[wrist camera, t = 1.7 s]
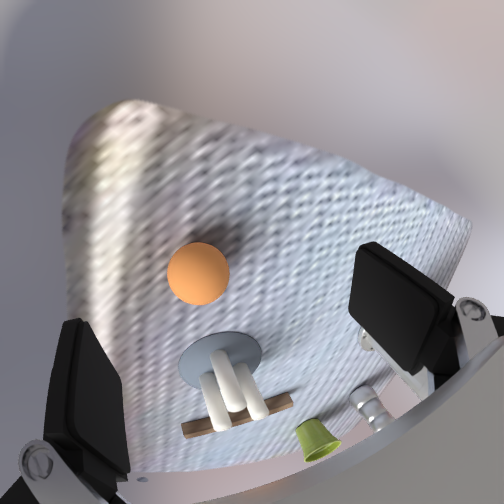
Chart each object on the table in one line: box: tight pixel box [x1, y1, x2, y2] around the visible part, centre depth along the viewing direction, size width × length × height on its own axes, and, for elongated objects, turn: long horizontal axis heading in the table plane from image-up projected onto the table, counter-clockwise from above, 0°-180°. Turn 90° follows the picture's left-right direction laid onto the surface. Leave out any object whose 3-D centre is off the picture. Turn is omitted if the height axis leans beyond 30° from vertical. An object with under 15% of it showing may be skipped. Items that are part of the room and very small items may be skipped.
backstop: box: [181, 392, 293, 439], centre depth 43 cm, size 20×2×2 cm, turn 95°
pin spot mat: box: [178, 332, 261, 389], centre depth 38 cm, size 12×12×1 cm
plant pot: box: [296, 419, 341, 462], centre depth 53 cm, size 9×9×9 cm
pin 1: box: [199, 372, 232, 431], centre depth 34 cm, size 2×2×9 cm
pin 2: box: [233, 363, 269, 420], centre depth 35 cm, size 2×2×9 cm
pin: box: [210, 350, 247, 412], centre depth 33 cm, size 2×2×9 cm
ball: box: [167, 242, 230, 305], centre depth 27 cm, size 6×6×6 cm
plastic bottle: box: [349, 385, 396, 433], centre depth 49 cm, size 6×7×20 cm
